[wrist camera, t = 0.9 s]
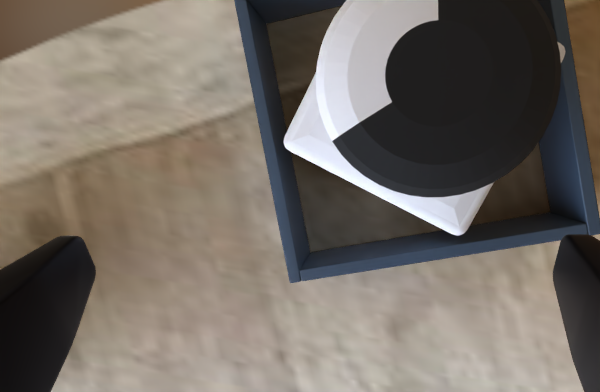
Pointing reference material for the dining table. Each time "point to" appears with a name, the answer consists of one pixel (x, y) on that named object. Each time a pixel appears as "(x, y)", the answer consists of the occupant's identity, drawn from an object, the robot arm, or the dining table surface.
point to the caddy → (434, 245)
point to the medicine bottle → (430, 100)
